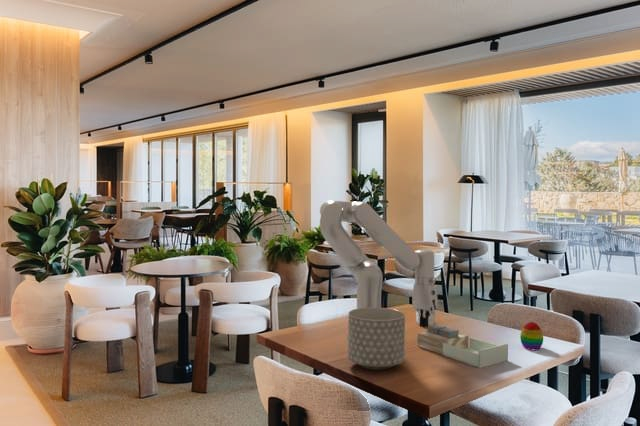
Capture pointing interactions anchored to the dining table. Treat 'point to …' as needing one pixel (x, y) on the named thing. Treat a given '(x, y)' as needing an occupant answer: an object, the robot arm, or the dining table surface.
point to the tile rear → (435, 328)
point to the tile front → (448, 332)
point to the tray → (478, 353)
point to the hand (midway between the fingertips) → (424, 326)
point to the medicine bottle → (430, 319)
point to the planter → (376, 337)
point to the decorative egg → (531, 336)
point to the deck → (441, 341)
